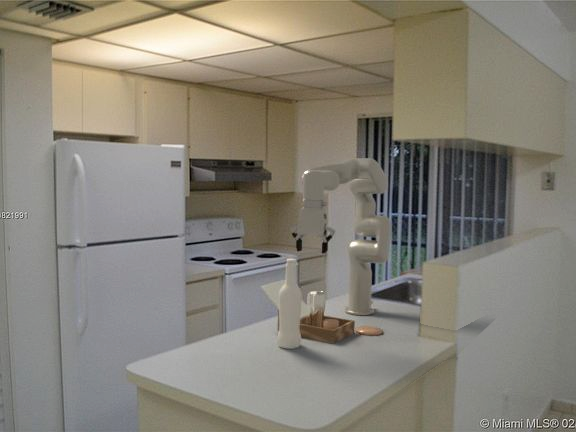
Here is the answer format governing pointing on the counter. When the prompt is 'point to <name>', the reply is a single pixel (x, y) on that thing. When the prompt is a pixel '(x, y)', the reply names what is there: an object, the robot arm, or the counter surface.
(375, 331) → the orange dish
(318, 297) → the beer glass
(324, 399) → the counter surface
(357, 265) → the robot arm
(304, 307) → the propped lid
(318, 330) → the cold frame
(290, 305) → the bottle
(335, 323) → the peach rounded cylinder
